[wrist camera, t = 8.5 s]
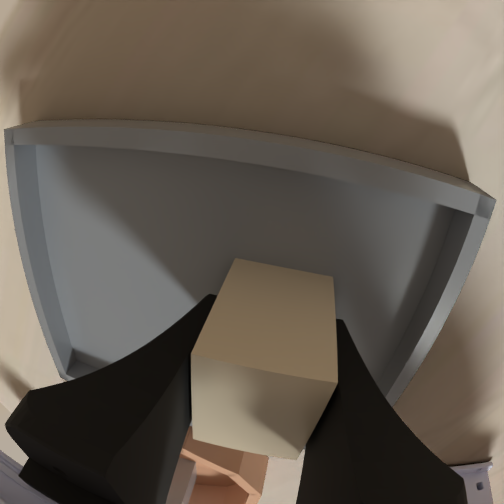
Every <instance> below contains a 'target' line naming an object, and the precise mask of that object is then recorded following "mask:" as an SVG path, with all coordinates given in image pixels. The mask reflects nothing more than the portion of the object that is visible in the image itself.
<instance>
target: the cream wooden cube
mask: <svg viewBox="0 0 504 504" xmlns="http://www.w3.org/2000/svg"><path fill="white" fill-rule="evenodd" d="M337 384H338V365H337V335H336V314H335V297H334V282H333V277H331V276H326V275H321V274H315V273H310V272H305V271H300V270H295V269H289V268H284V267H279V266H274V265H269V264H264V263H259V262H253V261H248V260H243V259H238V258H235V259H234V262H233V264H232V266H231V268H230V270H229V272H228V274H227V277H226V279H225V281H224V283H223V285H222V287H221V290H220V292H219V294H218V296H217V298H216V300H215V302H214V305H213V307H212V309H211V311H210V313H209V315H208V318H207V320H206V322H205V324H204V326H203V328H202V331H201V333H200V335H199V337H198V339H197V342H196V344H195V346H194V348H193V350H192V353H191V395H192V428H193V439H195V440H199V441H203V442H206V443H210V444H214V445H218V446H223V447H227V448H231V449H236V450H241V451H245V452H250V453H256V454H261V455H267V456H272V457H279V458H285V459H292V460H297V458H298V457H299V455H300V453H301V451H302V450H303V448H304V446H305V444H306V443H307V441H308V439H309V437H310V436H311V434H312V432H313V430H314V428H315V426H316V425H317V423H318V421H319V419H320V417H321V415H322V413H323V411H324V409H325V408H326V406H327V404H328V402H329V400H330V398H331V396H332V394H333V392H334V390H335V388H336V386H337Z"/></svg>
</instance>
